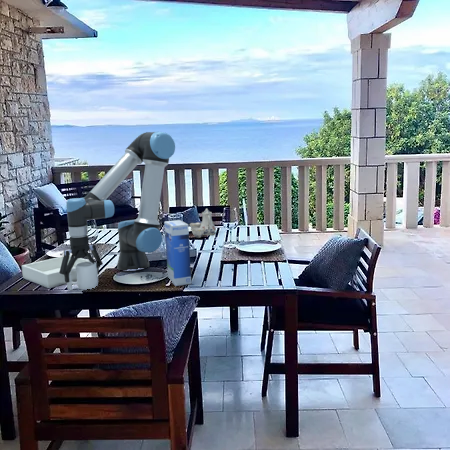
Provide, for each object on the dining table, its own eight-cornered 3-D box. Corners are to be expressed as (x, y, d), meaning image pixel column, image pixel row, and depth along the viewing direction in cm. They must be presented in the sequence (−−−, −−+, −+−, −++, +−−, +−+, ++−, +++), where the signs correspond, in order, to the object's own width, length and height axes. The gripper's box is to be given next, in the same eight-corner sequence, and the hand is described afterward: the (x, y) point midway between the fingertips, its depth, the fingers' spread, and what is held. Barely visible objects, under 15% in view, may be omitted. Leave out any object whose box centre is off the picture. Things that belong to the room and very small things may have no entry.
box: (97, 275, 227) (96, 262, 226) (48, 288, 210) (47, 274, 208) (70, 266, 243) (69, 254, 242) (23, 278, 226) (21, 265, 225)
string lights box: (191, 284, 209) (189, 224, 204) (174, 286, 206) (171, 226, 201) (183, 275, 221) (180, 219, 216) (166, 278, 219) (163, 221, 214)
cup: (98, 288, 207) (96, 265, 205) (68, 292, 204) (66, 268, 202) (97, 283, 215) (95, 260, 213) (69, 286, 212) (66, 263, 210)
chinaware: (187, 233, 320) (183, 208, 317) (212, 228, 324) (208, 203, 320) (194, 242, 294) (190, 215, 290) (221, 237, 297) (217, 210, 293)
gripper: (98, 229, 216) (102, 277, 220) (47, 239, 199) (52, 291, 203) (108, 231, 211) (112, 280, 215) (56, 242, 194) (61, 294, 198)
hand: (83, 285), depth 209 cm, fingers open, 12 cm apart
